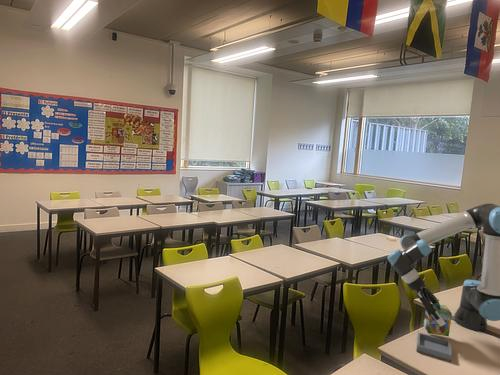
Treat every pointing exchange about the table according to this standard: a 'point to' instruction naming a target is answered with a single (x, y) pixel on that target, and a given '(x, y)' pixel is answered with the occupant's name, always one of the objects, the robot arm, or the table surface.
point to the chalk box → (432, 324)
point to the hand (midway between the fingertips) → (444, 320)
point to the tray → (434, 346)
